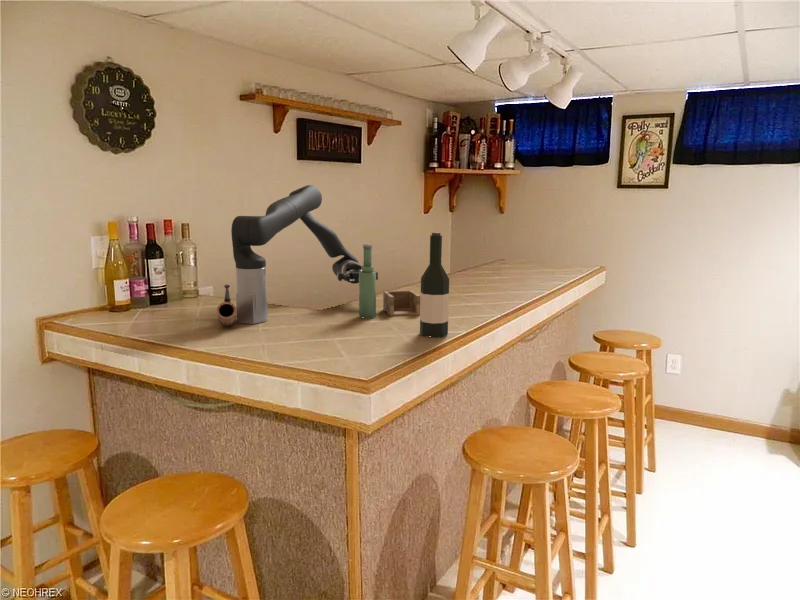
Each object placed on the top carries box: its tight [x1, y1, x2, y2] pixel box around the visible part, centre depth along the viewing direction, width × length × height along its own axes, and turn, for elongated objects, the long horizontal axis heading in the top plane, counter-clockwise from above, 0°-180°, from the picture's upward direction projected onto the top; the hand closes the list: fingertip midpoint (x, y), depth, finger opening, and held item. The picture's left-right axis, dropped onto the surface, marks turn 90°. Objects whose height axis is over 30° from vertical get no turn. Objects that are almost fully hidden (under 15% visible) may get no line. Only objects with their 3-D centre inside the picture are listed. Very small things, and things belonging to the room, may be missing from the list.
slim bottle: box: [358, 243, 377, 319], centre depth 195 cm, size 6×6×24 cm
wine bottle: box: [419, 231, 450, 338], centre depth 173 cm, size 8×8×30 cm
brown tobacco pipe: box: [216, 284, 237, 327], centre depth 186 cm, size 5×29×10 cm, turn 15°
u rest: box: [382, 290, 421, 317], centre depth 204 cm, size 10×10×7 cm
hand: (361, 278), depth 206 cm, fingers open, 8 cm apart
